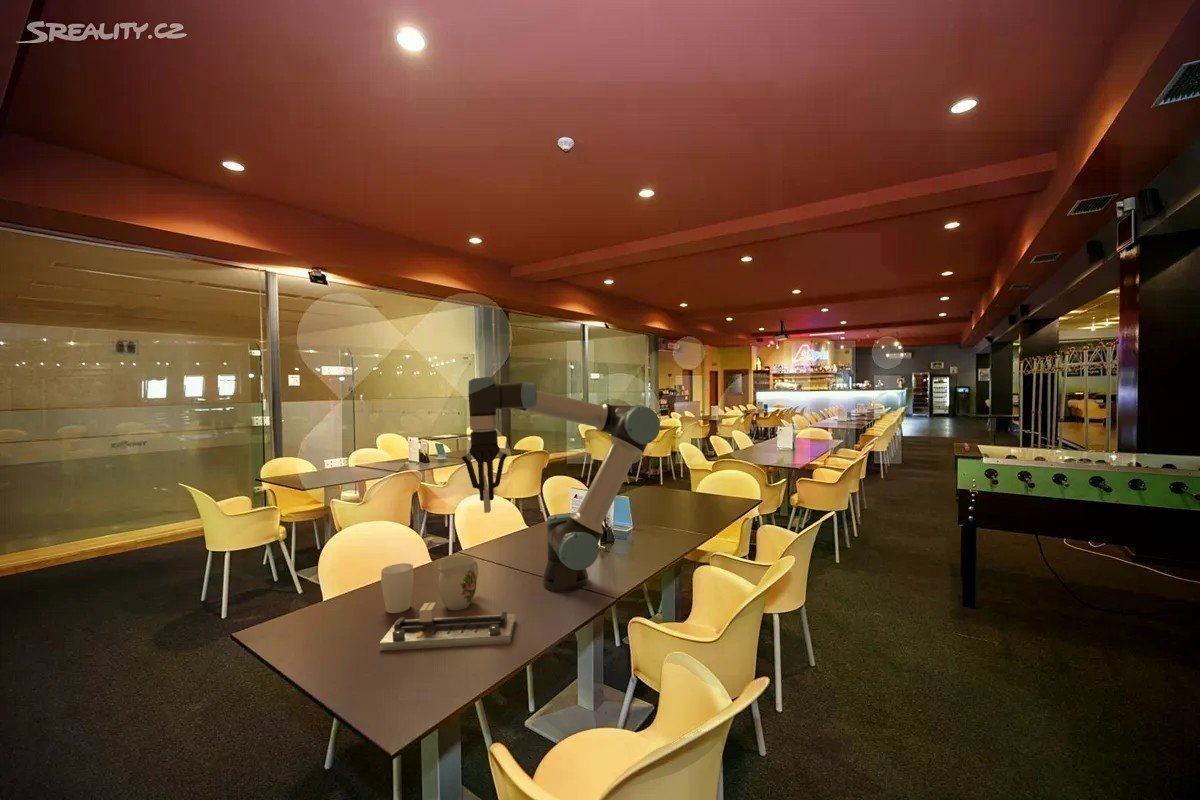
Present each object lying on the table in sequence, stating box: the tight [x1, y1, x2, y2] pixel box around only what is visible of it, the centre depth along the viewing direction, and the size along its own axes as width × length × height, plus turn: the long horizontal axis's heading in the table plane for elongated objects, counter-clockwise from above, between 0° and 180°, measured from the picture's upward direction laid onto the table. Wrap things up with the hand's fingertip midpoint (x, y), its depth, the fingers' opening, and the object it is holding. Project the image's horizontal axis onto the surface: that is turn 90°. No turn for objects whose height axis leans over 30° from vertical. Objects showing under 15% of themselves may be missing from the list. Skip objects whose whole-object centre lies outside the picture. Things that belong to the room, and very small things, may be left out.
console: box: [379, 611, 516, 652], centre depth 123 cm, size 32×12×4 cm, turn 94°
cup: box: [380, 562, 415, 614], centre depth 140 cm, size 9×9×12 cm
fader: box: [418, 601, 437, 626], centre depth 124 cm, size 3×4×5 cm, turn 4°
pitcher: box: [437, 555, 479, 611], centre depth 142 cm, size 11×18×14 cm, turn 161°
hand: (487, 511), depth 136 cm, fingers closed
